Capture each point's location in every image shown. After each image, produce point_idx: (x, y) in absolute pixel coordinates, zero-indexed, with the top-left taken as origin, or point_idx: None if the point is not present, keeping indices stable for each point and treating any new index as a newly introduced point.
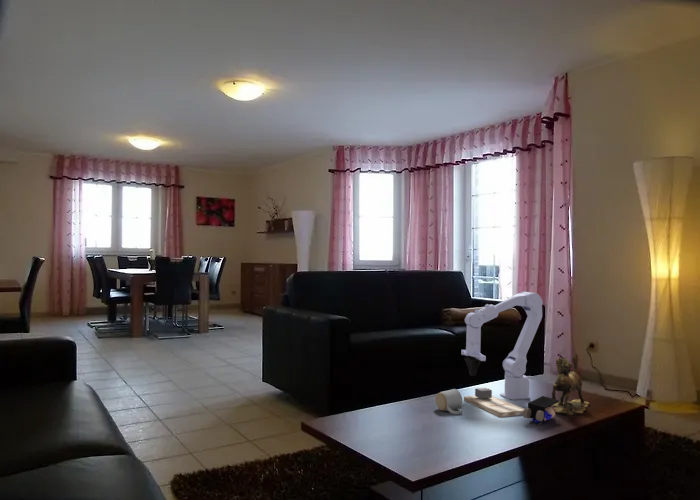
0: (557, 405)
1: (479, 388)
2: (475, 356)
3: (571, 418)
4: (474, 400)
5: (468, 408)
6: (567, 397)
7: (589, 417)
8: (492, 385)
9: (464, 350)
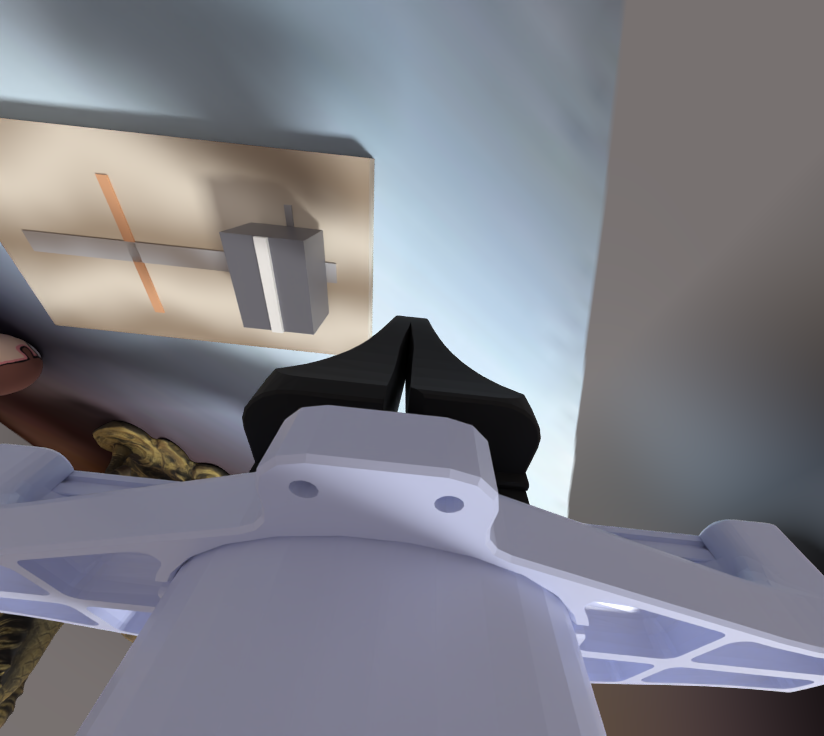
0: (199, 473)
1: (301, 278)
2: (72, 498)
3: (58, 419)
4: (245, 158)
5: (146, 2)
6: None
7: (88, 465)
8: (538, 486)
9: (772, 665)
